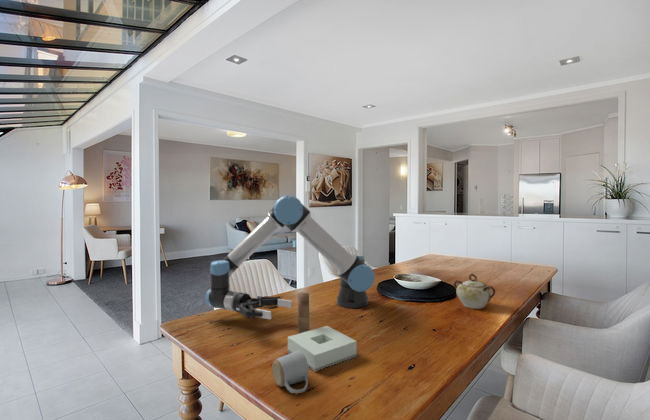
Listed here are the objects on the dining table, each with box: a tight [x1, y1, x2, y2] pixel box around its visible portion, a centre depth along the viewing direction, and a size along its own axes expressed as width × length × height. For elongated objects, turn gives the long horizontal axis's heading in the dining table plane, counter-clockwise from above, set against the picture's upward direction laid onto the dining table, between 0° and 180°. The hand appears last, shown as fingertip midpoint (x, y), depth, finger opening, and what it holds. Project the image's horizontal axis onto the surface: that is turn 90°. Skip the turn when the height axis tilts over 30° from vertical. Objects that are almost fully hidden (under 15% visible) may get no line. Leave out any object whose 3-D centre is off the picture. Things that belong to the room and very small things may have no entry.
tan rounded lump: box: [262, 295, 276, 309], centre depth 157 cm, size 9×7×4 cm
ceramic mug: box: [271, 350, 310, 394], centre depth 89 cm, size 11×8×8 cm
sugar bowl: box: [453, 273, 496, 310], centre depth 153 cm, size 20×15×15 cm
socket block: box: [287, 325, 358, 372], centre depth 107 cm, size 16×16×5 cm
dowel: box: [297, 292, 310, 334], centre depth 119 cm, size 4×4×16 cm
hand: (281, 309), depth 123 cm, fingers open, 13 cm apart
